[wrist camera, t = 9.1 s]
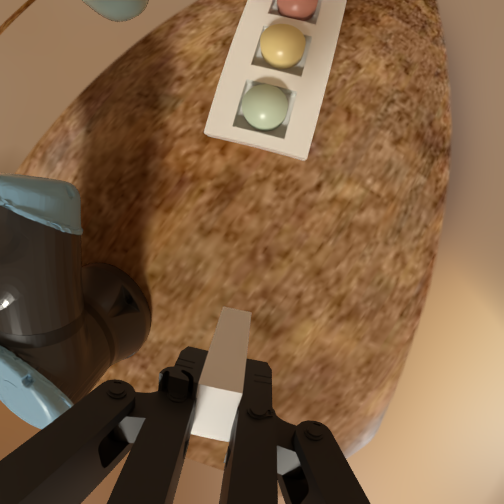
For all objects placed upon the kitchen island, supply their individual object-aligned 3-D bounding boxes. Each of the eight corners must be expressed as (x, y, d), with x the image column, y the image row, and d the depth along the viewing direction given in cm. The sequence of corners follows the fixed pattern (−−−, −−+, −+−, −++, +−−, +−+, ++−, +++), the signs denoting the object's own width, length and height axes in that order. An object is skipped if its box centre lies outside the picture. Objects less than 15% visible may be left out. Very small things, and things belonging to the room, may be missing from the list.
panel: (208, 136, 36) (203, 132, 33) (260, -17, 30) (259, -29, 27) (303, 160, 36) (306, 159, 33) (344, 2, 30) (348, -8, 27)
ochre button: (256, 63, 31) (254, 54, 28) (266, 30, 30) (266, 19, 27) (297, 73, 31) (300, 64, 28) (307, 40, 30) (309, 29, 27)
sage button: (239, 125, 34) (236, 120, 31) (250, 87, 32) (248, 79, 30) (280, 135, 34) (281, 131, 31) (291, 97, 32) (292, 90, 30)
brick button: (272, 16, 30) (272, 5, 27) (281, -9, 29) (282, -21, 26) (311, 25, 30) (314, 15, 27) (318, -1, 29) (321, -12, 26)
